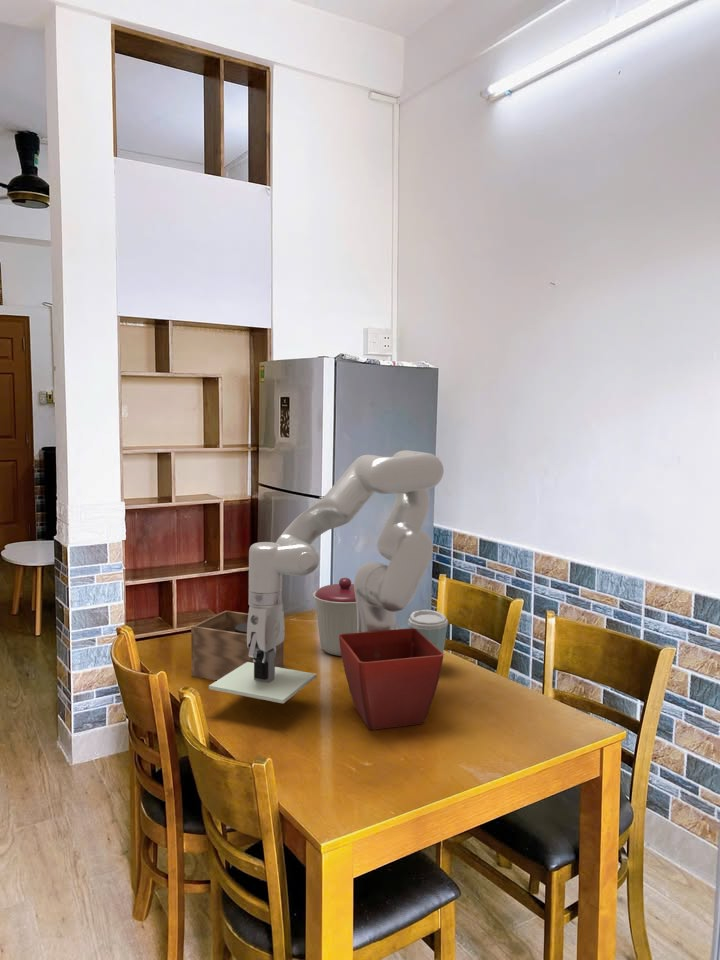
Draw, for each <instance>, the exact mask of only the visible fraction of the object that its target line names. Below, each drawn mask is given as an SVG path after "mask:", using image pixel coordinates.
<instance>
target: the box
mask: <svg viewBox="0 0 720 960" xmlns="http://www.w3.org/2000/svg"><path fill="white" fill-rule="evenodd" d="M242 623H248V612H247V613H246V612H240V611H239V612H238V611H232V610H224V611H221V612H219V613H217V614H216V615H213V616H211V617H209V618H207V619H205V620H202V621H201V622H198V623H196V624H195V625H192V626H191V627H190V630H191V631H190V633H191V635H190V636H191V637H190V638H191V641H190V642H191V644H190V645H191V646H190V647H191V648H190V649H191V677H193V676H194V678H200V679H204V678H205V679H206V680H210V681H215V680H219V679H220V678H222V677H224V676H225V675H227V674H229V673H230V672H232V671H233V670H235V669H237V668H238V667H240V666H242V665H243V664H245V663H246V662H251V663H254V661H253V657H249V656H248V654H249V650H250V649H248V647H247V634H243V633H237V632H235V627H236V626H237V625H239V624H242ZM284 642H285V641H283V642H282V643H280V644H279V645H277V648H276V656H275V667H280V668H284V657H285V655H284V653H285V651H284V647H285V645H284V644H285V643H284ZM258 647H259V646H258Z"/></svg>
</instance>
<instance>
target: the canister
mask: <svg viewBox="0 0 720 960" xmlns="http://www.w3.org/2000/svg"><path fill="white" fill-rule="evenodd" d="M312 597H313V598H314V599H315V607H316V608H315V609H316V610H315V611H316V617H317V619H316V620H317V627H318V629H317V630H318V636H319V643H320V646H321V648H322V650H323V651H324V652H326V653H328V654H329V655H333V656H339V657H342V655H341V649H340V642H339V635H340V634H347V633H357V606H356V598H355V591H354V583H352V580H351V579H350V578H349V577H341V578H340V579H339V581H338V583H334V584H328V585H325V586H321V587H320V588H319V589H317V590H315V591H314V592H313V593H312Z"/></svg>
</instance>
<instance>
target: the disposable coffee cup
mask: <svg viewBox="0 0 720 960" xmlns="http://www.w3.org/2000/svg"><path fill="white" fill-rule="evenodd" d="M407 624H408V628H413V629H417V630H418V631H419V632H420V633H421V634H422V635H423V636H424V637H425V638H426V639H428V640H429V641H430V642H431V643H432V644H433V645H434V646H435V647H436V648H438V649H439V650H440V651H441V652H442V653H443V654H444V652H445V651H444V649H445V645H446V644H445V642H446V637H447V630H448V625H449V620H448V618H447V617H446V616H445V614H444V613H442V612H439V611H437V610H431V609H421V610H420V609H419V610H415V611H412V612H411V614H410V616H409V618H408V620H407Z"/></svg>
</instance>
